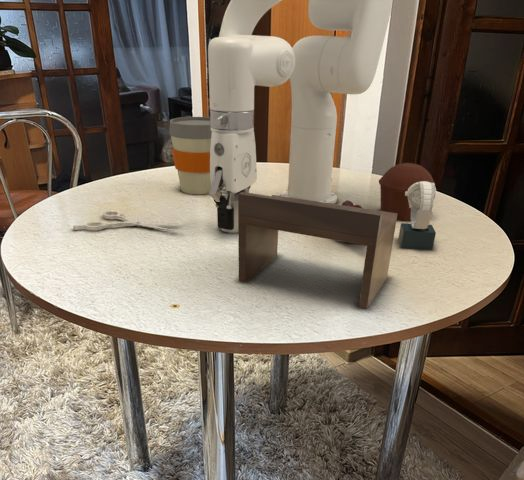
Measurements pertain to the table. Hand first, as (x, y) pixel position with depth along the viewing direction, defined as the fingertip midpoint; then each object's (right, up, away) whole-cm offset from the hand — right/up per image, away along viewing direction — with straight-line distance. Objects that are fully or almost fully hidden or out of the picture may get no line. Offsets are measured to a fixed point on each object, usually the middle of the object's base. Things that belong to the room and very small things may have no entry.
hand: (233, 223), depth 97 cm
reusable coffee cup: (-9, +14, +24) cm, 29 cm away
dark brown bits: (+22, -4, -4) cm, 22 cm away
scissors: (-19, -1, 0) cm, 19 cm away
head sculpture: (+33, -5, -5) cm, 34 cm away
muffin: (+35, +4, +11) cm, 37 cm away
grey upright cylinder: (0, -1, +1) cm, 1 cm away
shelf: (+14, -13, -19) cm, 27 cm away
